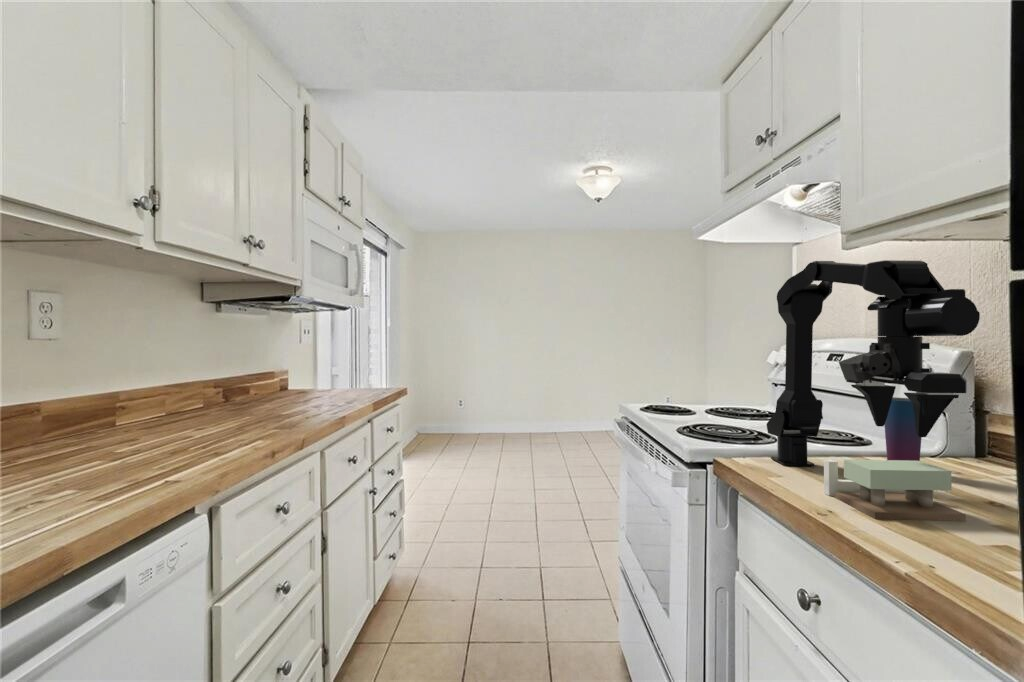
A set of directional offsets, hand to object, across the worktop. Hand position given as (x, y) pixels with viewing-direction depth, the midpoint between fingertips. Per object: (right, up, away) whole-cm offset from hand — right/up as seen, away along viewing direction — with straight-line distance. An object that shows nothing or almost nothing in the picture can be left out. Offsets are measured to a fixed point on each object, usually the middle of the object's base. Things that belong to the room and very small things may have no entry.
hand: (899, 431), depth 77 cm
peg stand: (-2, -12, -1) cm, 12 cm away
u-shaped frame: (-1, -12, +5) cm, 13 cm away
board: (-2, -8, -1) cm, 9 cm away
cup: (+19, -13, +22) cm, 31 cm away
